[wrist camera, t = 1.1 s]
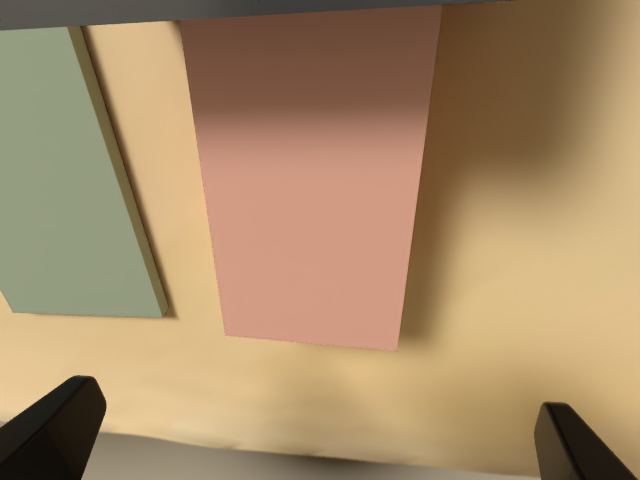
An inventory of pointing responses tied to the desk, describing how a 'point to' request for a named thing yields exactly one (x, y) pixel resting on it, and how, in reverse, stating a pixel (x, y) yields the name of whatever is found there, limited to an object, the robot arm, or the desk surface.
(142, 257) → the green block
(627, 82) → the desk surface
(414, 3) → the dispenser
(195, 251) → the desk surface
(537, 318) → the desk surface
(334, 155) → the pink block
